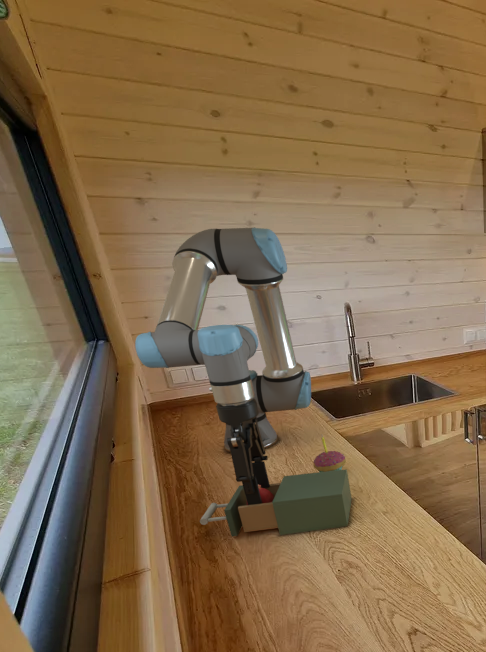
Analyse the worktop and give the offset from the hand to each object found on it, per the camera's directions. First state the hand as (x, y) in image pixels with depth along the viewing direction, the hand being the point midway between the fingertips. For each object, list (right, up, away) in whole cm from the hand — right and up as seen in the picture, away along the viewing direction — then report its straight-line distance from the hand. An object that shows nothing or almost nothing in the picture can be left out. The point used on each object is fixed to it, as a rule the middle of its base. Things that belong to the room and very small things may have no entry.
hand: (259, 495), depth 112 cm
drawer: (-2, -6, +2) cm, 7 cm away
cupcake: (+8, +2, +24) cm, 26 cm away
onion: (0, -5, +2) cm, 6 cm away
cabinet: (+11, -6, +5) cm, 14 cm away
